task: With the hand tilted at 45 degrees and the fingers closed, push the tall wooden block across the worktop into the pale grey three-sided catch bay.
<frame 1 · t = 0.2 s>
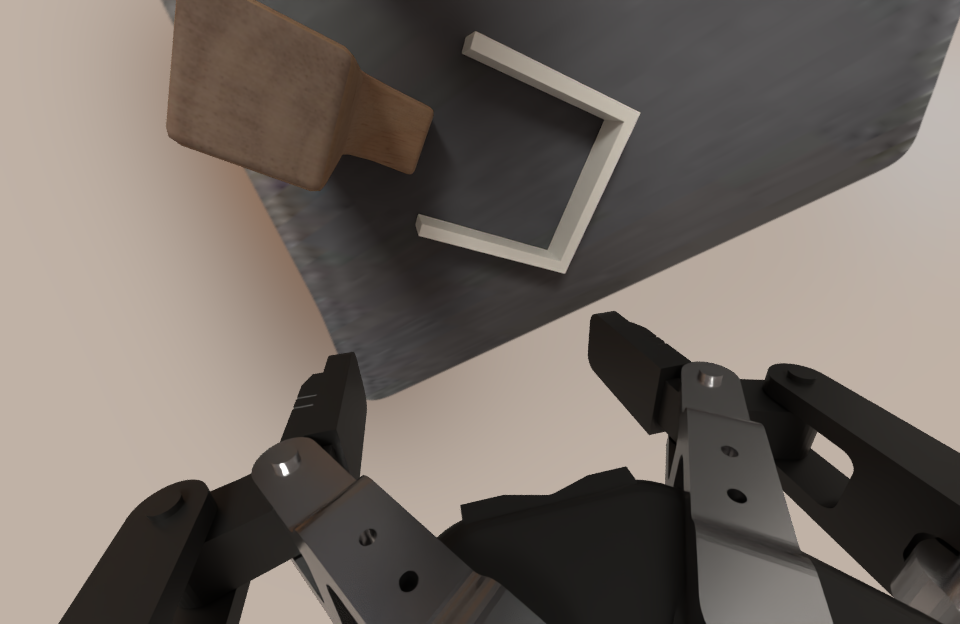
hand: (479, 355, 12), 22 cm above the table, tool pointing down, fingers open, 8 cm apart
wooden block: (359, 111, 27), on the table
catch bay: (516, 168, 31), on the table
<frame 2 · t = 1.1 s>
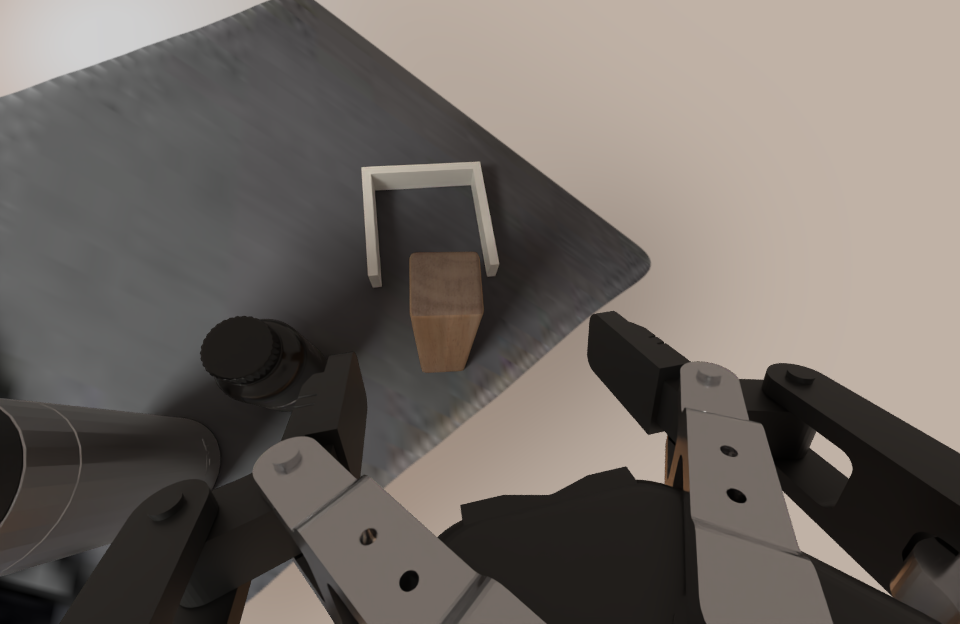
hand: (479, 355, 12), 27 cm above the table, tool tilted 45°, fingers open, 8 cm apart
wooden block: (441, 332, 40), on the table
supplement bottle: (297, 377, 37), on the table
catch bay: (429, 228, 44), on the table
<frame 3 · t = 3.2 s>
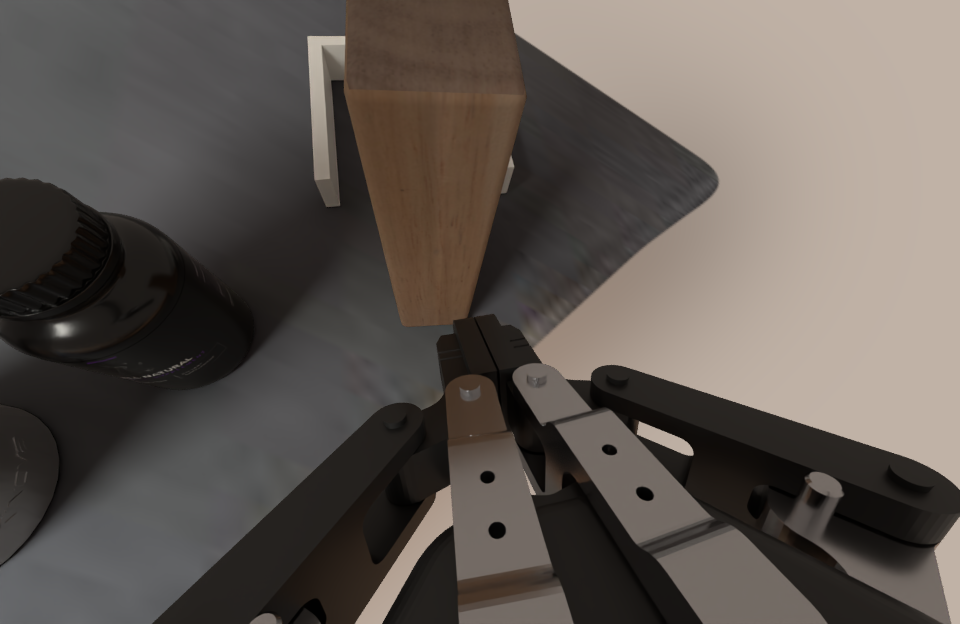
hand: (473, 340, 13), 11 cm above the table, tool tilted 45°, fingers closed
wooden block: (431, 269, 27), on the table
supplement bottle: (202, 338, 23), on the table
catch bay: (409, 130, 31), on the table
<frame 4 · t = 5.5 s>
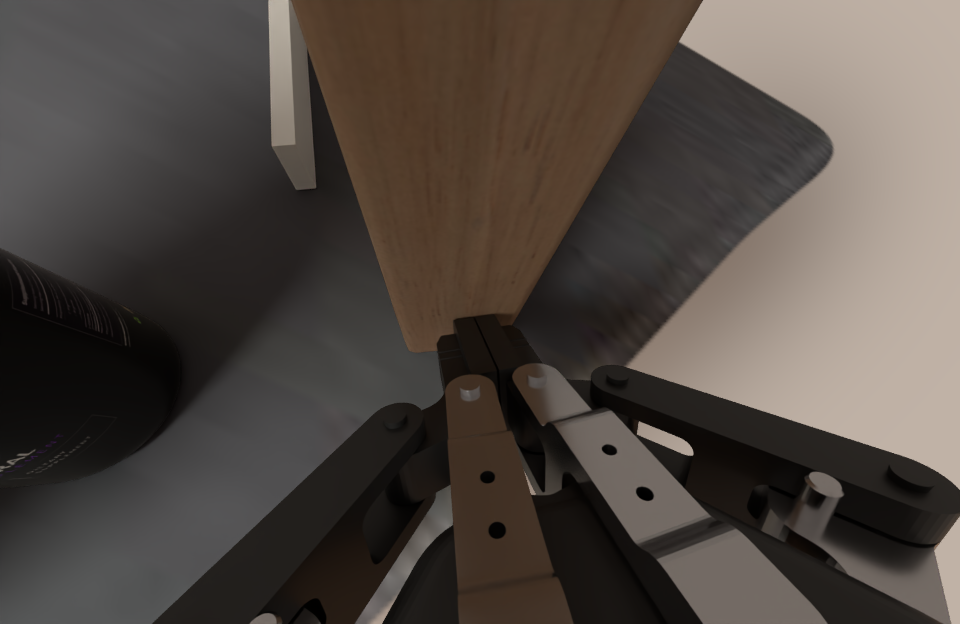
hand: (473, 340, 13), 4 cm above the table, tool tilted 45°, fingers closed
wooden block: (447, 266, 19), on the table, touching gripper
supplement bottle: (102, 391, 15), on the table
catch bay: (412, 85, 23), on the table
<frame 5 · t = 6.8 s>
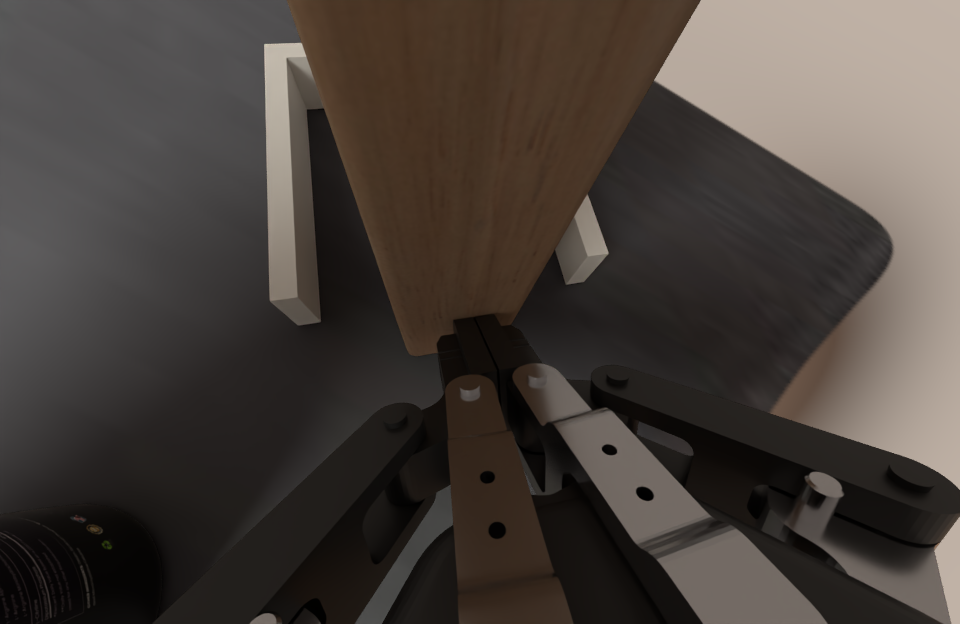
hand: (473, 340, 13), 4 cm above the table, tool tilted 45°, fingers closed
wooden block: (441, 267, 19), on the table, touching gripper
supplement bottle: (68, 607, 13), on the table
catch bay: (427, 184, 20), on the table
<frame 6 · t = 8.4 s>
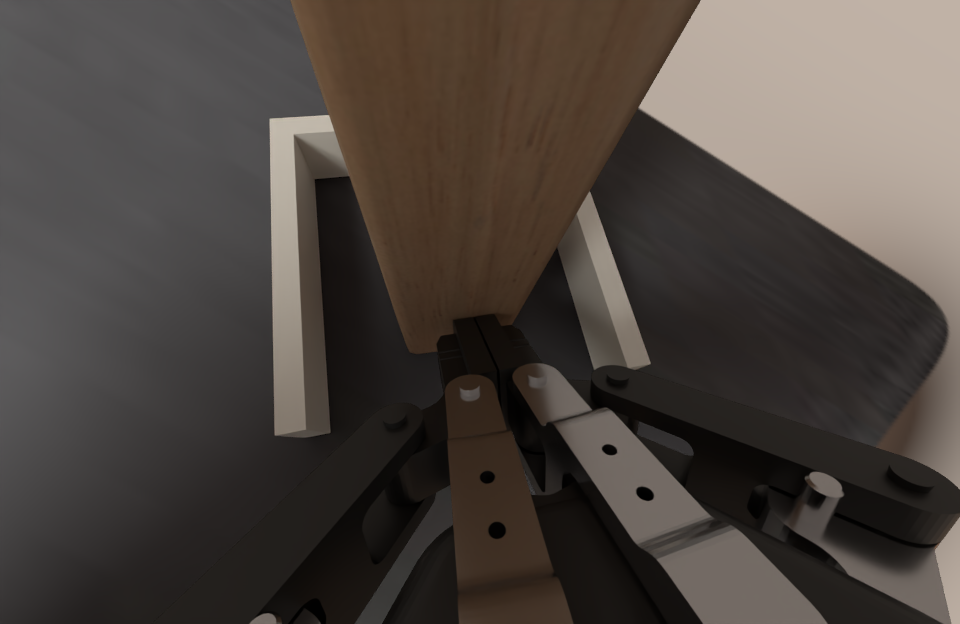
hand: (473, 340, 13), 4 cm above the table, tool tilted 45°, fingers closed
wooden block: (444, 266, 19), on the table, touching gripper
catch bay: (445, 265, 19), on the table
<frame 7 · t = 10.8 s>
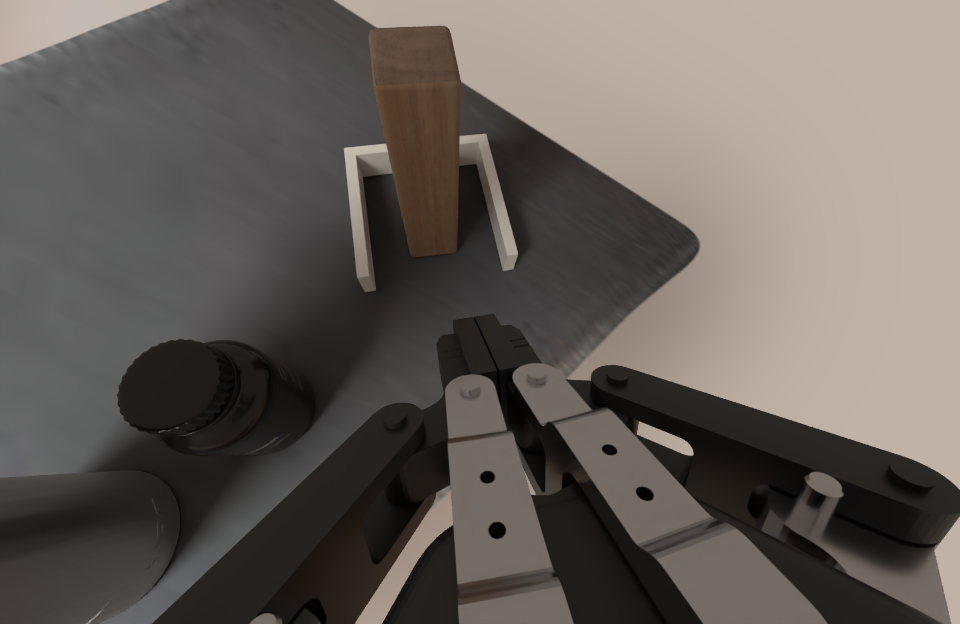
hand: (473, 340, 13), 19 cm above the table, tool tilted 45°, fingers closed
wooden block: (428, 218, 37), on the table
supplement bottle: (275, 409, 30), on the table
catch bay: (429, 217, 37), on the table
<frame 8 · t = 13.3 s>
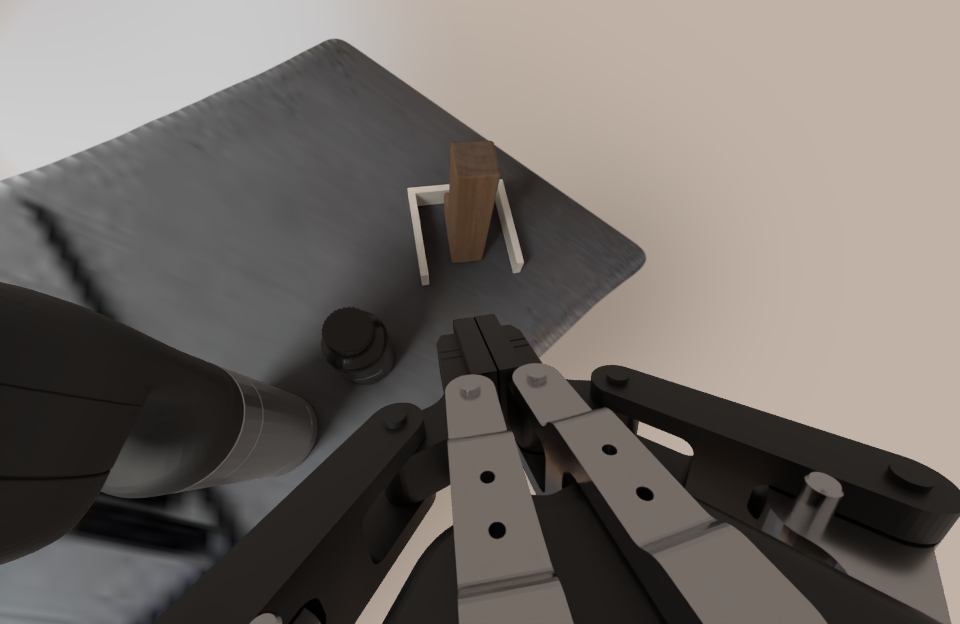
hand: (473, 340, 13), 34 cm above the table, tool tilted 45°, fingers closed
wooden block: (462, 236, 54), on the table
supplement bottle: (368, 359, 47), on the table
catch bay: (463, 236, 54), on the table
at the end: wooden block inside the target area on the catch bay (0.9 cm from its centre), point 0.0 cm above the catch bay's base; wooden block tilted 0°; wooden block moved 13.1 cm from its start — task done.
